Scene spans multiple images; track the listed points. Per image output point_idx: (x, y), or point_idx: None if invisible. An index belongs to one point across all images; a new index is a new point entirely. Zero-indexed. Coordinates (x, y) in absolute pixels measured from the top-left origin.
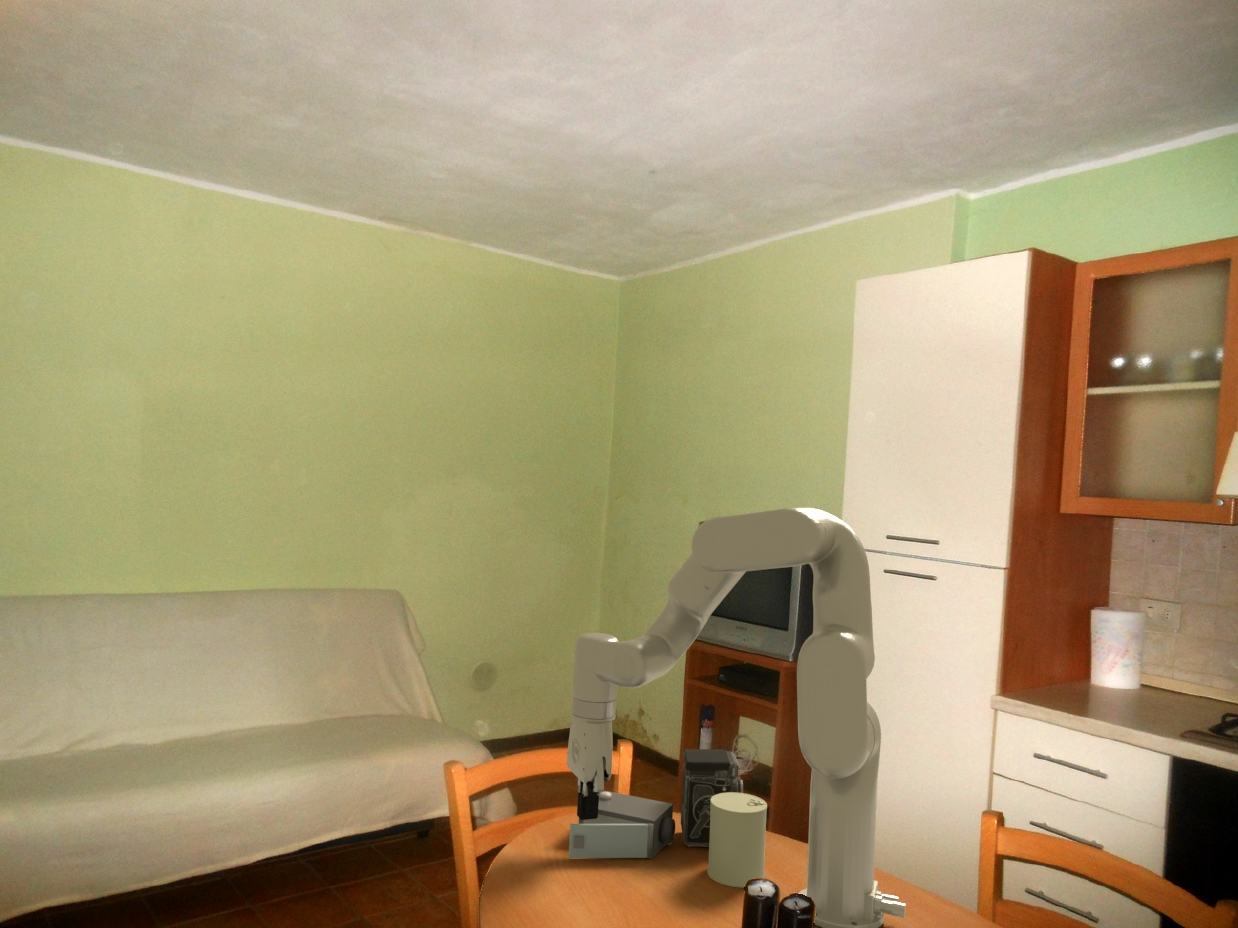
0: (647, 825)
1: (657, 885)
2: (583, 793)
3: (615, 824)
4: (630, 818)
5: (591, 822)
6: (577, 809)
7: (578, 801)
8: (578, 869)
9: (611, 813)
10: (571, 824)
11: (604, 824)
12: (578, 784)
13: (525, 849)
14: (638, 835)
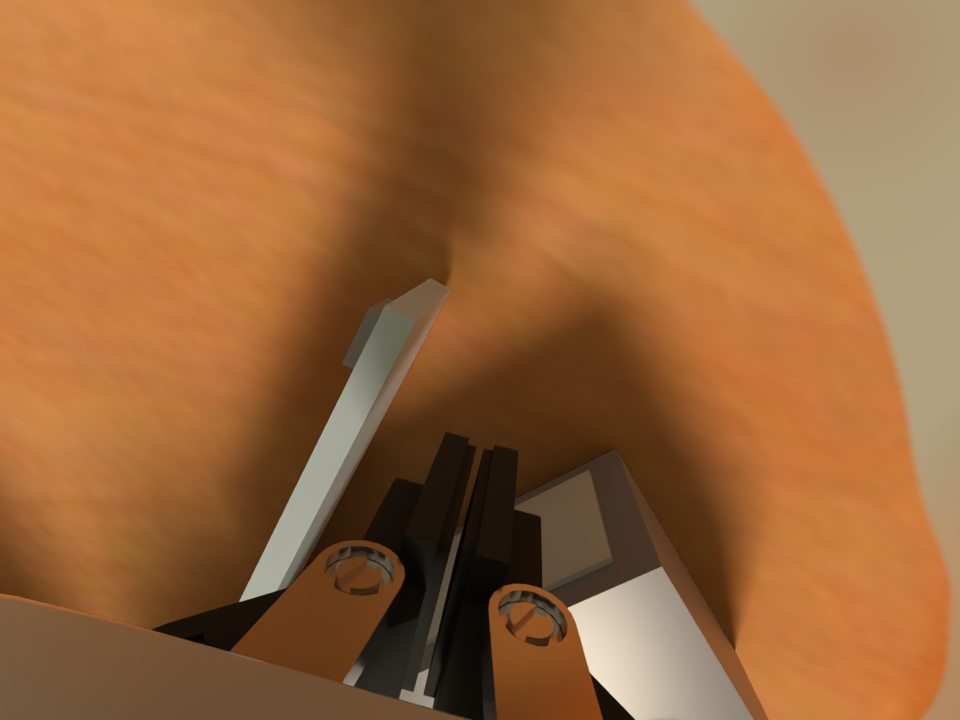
0: None
1: (47, 469)
2: (374, 567)
3: (264, 578)
4: None
5: (550, 541)
6: (507, 468)
7: (487, 504)
8: (314, 259)
9: (428, 660)
10: (395, 321)
11: (293, 521)
12: (561, 652)
13: (683, 127)
14: None
